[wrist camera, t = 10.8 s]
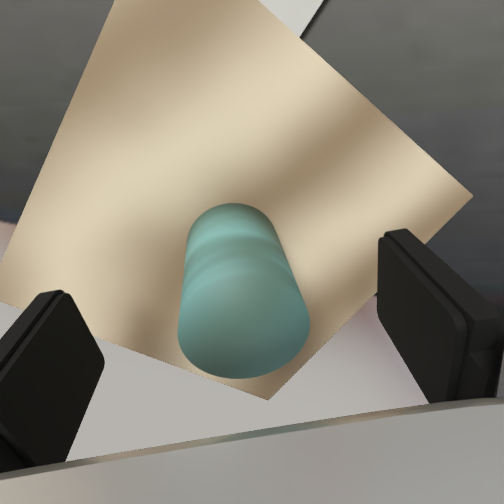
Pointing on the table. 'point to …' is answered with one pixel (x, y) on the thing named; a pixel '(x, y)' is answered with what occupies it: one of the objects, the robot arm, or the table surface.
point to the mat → (293, 12)
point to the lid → (219, 194)
